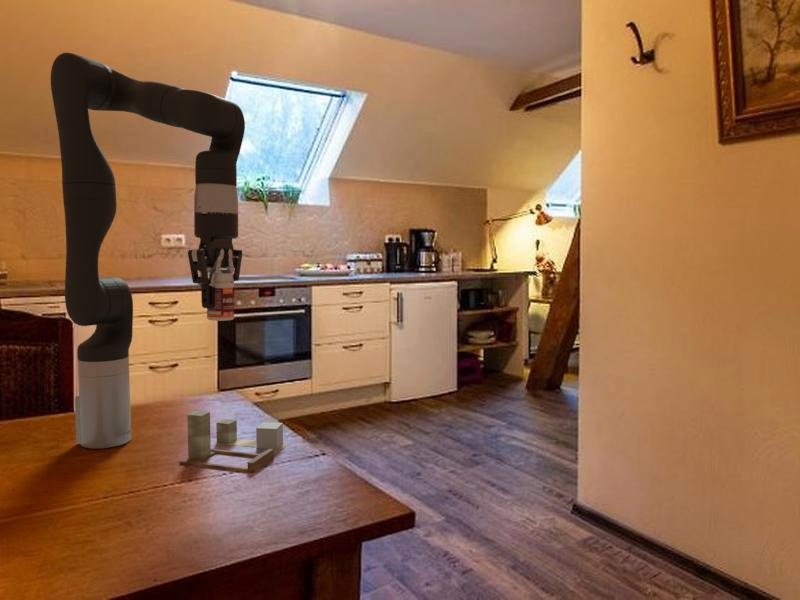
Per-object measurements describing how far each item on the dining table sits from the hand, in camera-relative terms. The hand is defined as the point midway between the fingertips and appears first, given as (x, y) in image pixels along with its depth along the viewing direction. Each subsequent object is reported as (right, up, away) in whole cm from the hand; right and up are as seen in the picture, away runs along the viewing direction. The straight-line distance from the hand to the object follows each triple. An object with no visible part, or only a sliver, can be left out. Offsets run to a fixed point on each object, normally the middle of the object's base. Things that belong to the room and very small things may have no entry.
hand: (216, 306), depth 109 cm
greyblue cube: (+8, -27, +8) cm, 30 cm away
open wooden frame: (+2, -29, 0) cm, 29 cm away
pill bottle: (+1, -3, 0) cm, 3 cm away
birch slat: (+4, -28, +10) cm, 30 cm away
